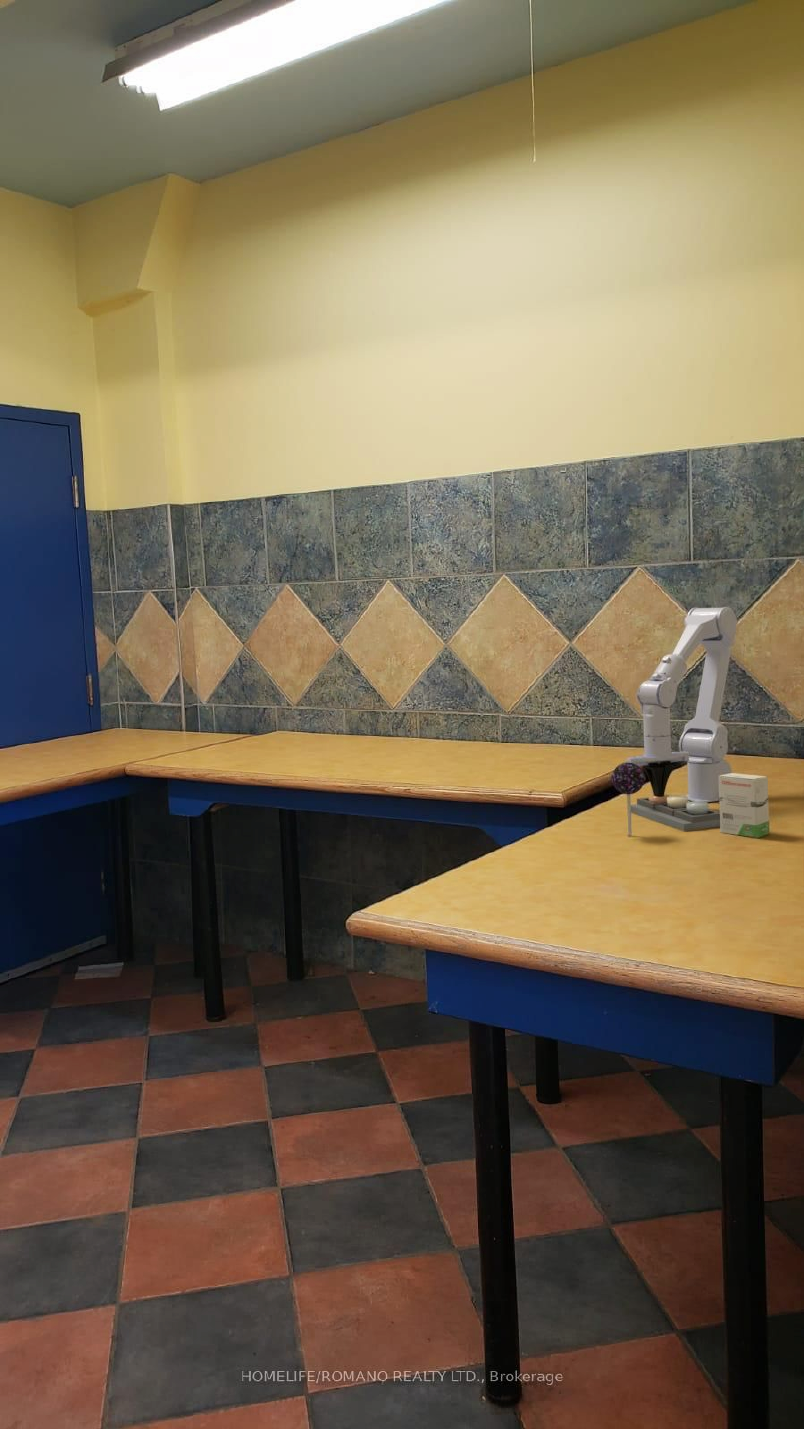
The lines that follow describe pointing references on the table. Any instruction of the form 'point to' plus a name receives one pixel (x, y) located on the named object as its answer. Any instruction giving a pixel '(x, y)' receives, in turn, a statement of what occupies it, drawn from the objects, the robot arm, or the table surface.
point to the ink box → (744, 805)
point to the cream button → (677, 801)
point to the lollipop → (628, 783)
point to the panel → (675, 815)
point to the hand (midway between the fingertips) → (658, 796)
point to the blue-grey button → (697, 807)
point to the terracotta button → (658, 798)
